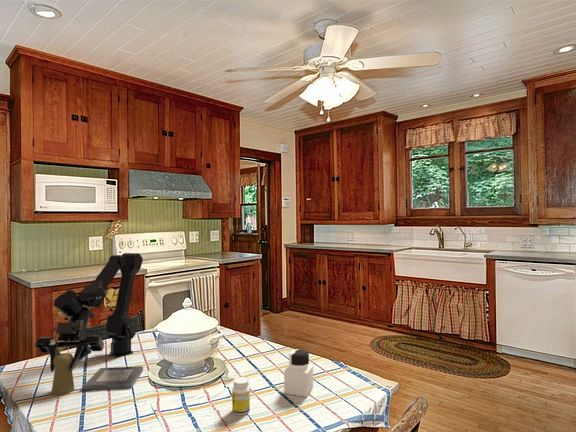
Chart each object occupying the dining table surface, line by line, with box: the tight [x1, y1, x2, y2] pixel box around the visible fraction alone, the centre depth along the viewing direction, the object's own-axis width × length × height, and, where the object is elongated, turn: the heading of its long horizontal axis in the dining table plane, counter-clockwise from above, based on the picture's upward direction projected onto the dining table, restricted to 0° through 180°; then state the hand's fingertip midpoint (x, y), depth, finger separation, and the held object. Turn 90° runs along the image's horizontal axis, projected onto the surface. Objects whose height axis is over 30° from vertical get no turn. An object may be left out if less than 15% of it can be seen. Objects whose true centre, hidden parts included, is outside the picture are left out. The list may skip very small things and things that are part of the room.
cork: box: [50, 352, 75, 396], centre depth 114 cm, size 6×6×11 cm
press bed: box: [83, 365, 144, 392], centre depth 122 cm, size 14×14×2 cm
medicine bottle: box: [283, 348, 314, 398], centre depth 115 cm, size 7×7×12 cm
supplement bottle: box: [231, 376, 251, 416], centre depth 102 cm, size 5×5×8 cm
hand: (61, 370), depth 113 cm, fingers closed on cork, 5 cm apart
